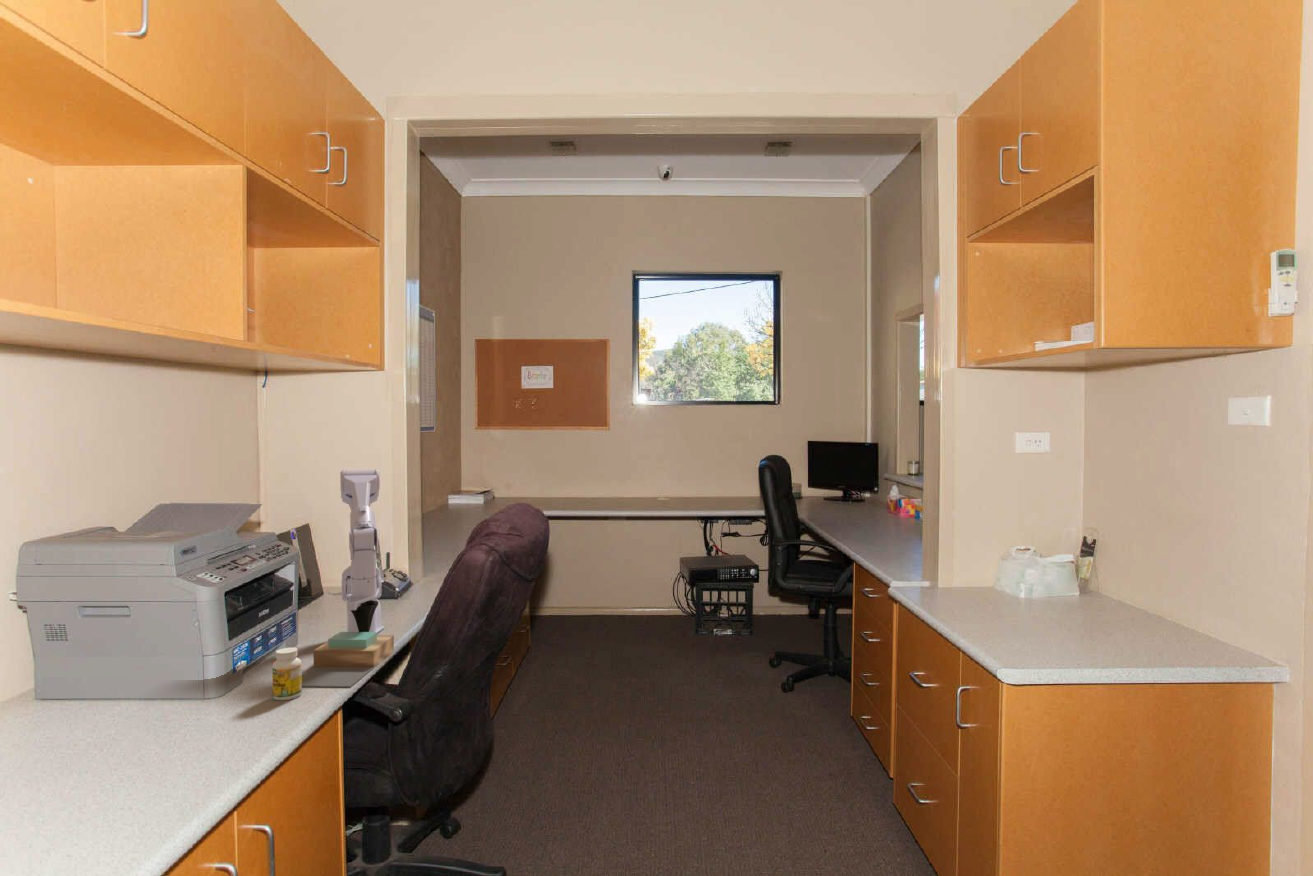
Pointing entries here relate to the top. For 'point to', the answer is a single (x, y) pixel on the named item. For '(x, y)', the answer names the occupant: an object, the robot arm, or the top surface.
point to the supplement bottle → (287, 674)
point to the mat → (333, 676)
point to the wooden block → (355, 654)
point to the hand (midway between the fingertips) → (364, 632)
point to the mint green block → (352, 640)
